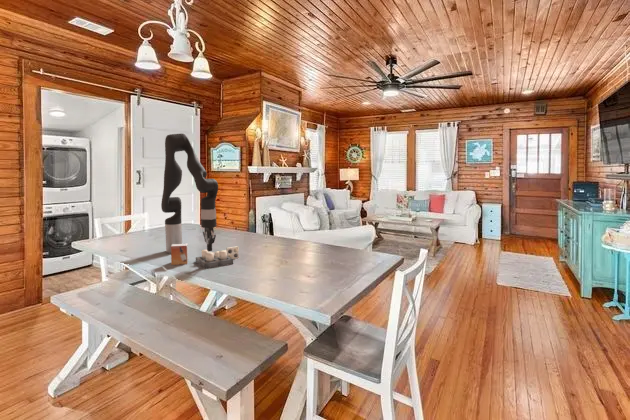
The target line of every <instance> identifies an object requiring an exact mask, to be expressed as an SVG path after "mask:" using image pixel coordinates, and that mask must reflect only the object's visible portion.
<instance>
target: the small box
mask: <svg viewBox="0 0 630 420" xmlns="http://www.w3.org/2000/svg"><path fill="white" fill-rule="evenodd" d="M188 245H189V243H182V244H172V246H171V253H170V262H171V263H170V264H171V266H173V265H175V266H176V265H187V264H188V263H189V246H188Z"/></svg>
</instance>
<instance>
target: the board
mask: <svg viewBox="0 0 630 420" xmlns="http://www.w3.org/2000/svg"><path fill="white" fill-rule="evenodd" d="M195 263H196V264H198V265H200V266H201V267H203V268H205V269H211V268H216V267H221V266H228V265H232V264H233V265H234V259H232V258H230V257H228V256H227V259H226V260H219V257H216V258H215V254H214V262H206V259H202V256H197V257H195Z"/></svg>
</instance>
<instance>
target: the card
mask: <svg viewBox="0 0 630 420" xmlns="http://www.w3.org/2000/svg"><path fill="white" fill-rule="evenodd" d="M239 248H240V247H239V246H231V247H226V249H225V251H227V256H228V257H230V258H232V259H233V260H234V259H240V254H239V253H240V250H239Z"/></svg>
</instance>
